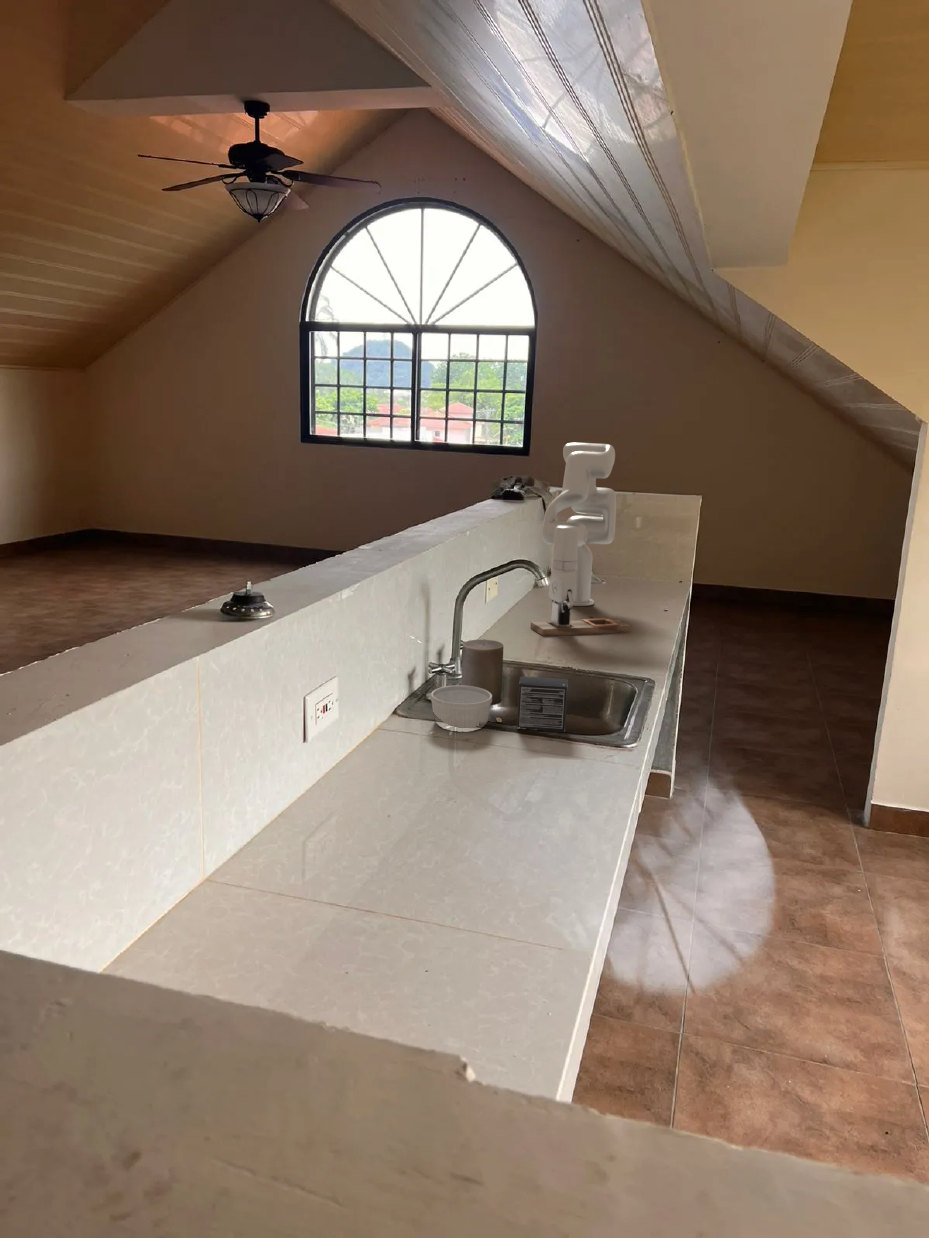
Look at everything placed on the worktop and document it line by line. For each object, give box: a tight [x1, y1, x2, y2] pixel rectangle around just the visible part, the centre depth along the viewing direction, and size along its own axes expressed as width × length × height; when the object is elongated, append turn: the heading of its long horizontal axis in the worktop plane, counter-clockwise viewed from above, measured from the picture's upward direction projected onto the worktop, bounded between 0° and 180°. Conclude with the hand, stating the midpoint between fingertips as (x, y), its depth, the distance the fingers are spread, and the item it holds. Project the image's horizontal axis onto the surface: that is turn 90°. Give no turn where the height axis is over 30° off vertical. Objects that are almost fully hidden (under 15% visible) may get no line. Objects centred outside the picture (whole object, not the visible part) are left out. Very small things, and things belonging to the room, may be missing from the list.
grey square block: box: [550, 601, 572, 628], centre depth 284 cm, size 4×4×9 cm
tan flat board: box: [530, 617, 631, 637], centre depth 287 cm, size 10×30×2 cm, turn 108°
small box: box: [516, 676, 569, 733], centre depth 197 cm, size 11×6×10 cm, turn 84°
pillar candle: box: [461, 638, 504, 706], centre depth 212 cm, size 10×10×15 cm
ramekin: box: [430, 684, 492, 728], centre depth 196 cm, size 13×13×7 cm
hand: (560, 621), depth 285 cm, fingers open, 4 cm apart
